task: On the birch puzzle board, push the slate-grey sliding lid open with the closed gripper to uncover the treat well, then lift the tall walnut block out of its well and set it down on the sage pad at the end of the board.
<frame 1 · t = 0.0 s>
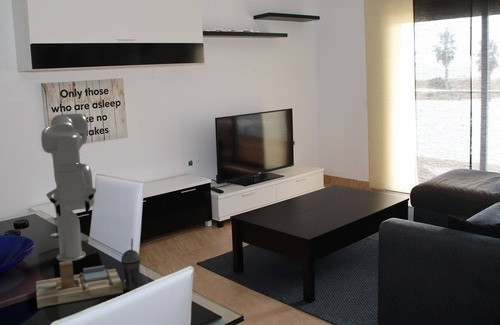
hand: (73, 213, 191), 31 cm above the table, tool pointing down, fingers open, 9 cm apart
puzzle board: (79, 291, 198), on the table
beverage cup: (132, 289, 199), on the table
walnut block: (68, 288, 196), point 2 cm above the table, touching puzzle board
lid: (95, 273, 203), point 5 cm above the table, slide at 0.0 cm
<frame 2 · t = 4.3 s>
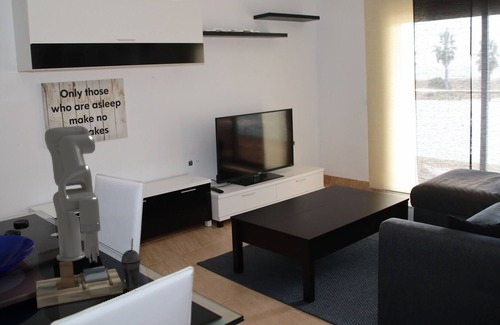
hand: (93, 271, 208), 4 cm above the table, tool pointing down, fingers closed
lid: (95, 274, 202), point 5 cm above the table, slide at 1.0 cm, touching gripper
everything else where it was.
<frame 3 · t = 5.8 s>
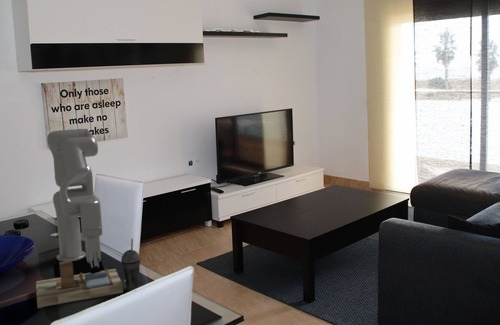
hand: (95, 276, 202), 4 cm above the table, tool pointing down, fingers closed
lid: (97, 279, 197), point 5 cm above the table, slide at 7.2 cm, touching gripper
everything else where it was.
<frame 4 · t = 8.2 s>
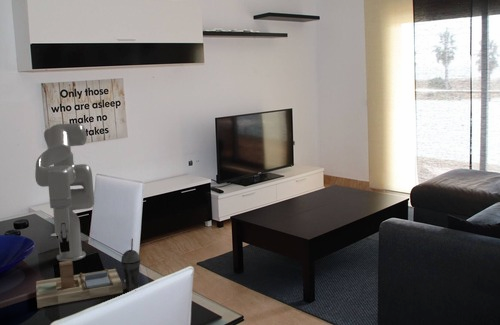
hand: (64, 249, 194), 17 cm above the table, tool pointing down, fingers open, 3 cm apart
lid: (97, 279, 197), point 5 cm above the table, slide at 7.2 cm
everything else where it was.
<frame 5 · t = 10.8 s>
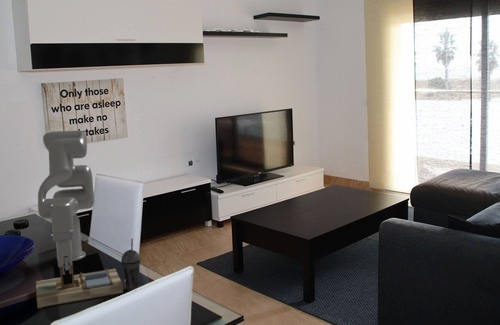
hand: (67, 281, 196), 5 cm above the table, tool pointing down, fingers closed on walnut block, 4 cm apart
walnut block: (68, 288, 196), point 2 cm above the table, touching gripper, puzzle board
everything else where it was.
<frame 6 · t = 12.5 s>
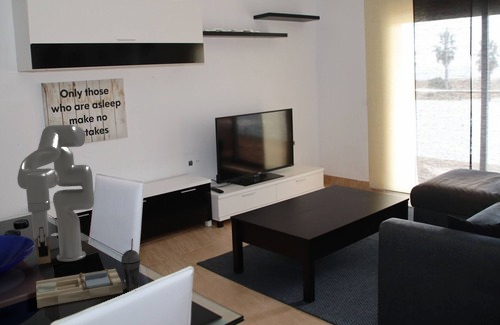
hand: (43, 253, 191), 17 cm above the table, tool pointing down, fingers closed on walnut block, 4 cm apart
walnut block: (44, 261, 192), point 14 cm above the table, touching gripper
everything else where it was.
when the fingers open (8 cm above the table, at t = 14.4 s): walnut block stays where it is, resting on puzzle board.
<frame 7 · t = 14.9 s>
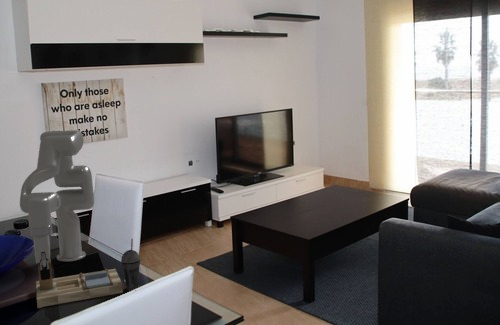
hand: (45, 274, 192), 9 cm above the table, tool pointing down, fingers open, 9 cm apart
walnut block: (46, 287, 193), point 4 cm above the table, touching puzzle board
everything else where it was.
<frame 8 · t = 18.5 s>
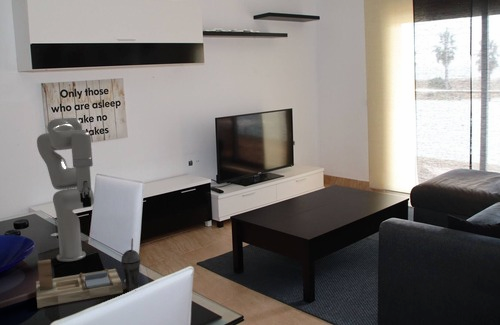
hand: (85, 204, 209), 30 cm above the table, tool pointing down, fingers open, 9 cm apart
nothing on the table moved.
at the end: lid slide at 7.2 cm; walnut block inside the target area on the puzzle board (0.1 cm from its centre), point 3.7 cm above the puzzle board's base; walnut block tilted 0° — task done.
